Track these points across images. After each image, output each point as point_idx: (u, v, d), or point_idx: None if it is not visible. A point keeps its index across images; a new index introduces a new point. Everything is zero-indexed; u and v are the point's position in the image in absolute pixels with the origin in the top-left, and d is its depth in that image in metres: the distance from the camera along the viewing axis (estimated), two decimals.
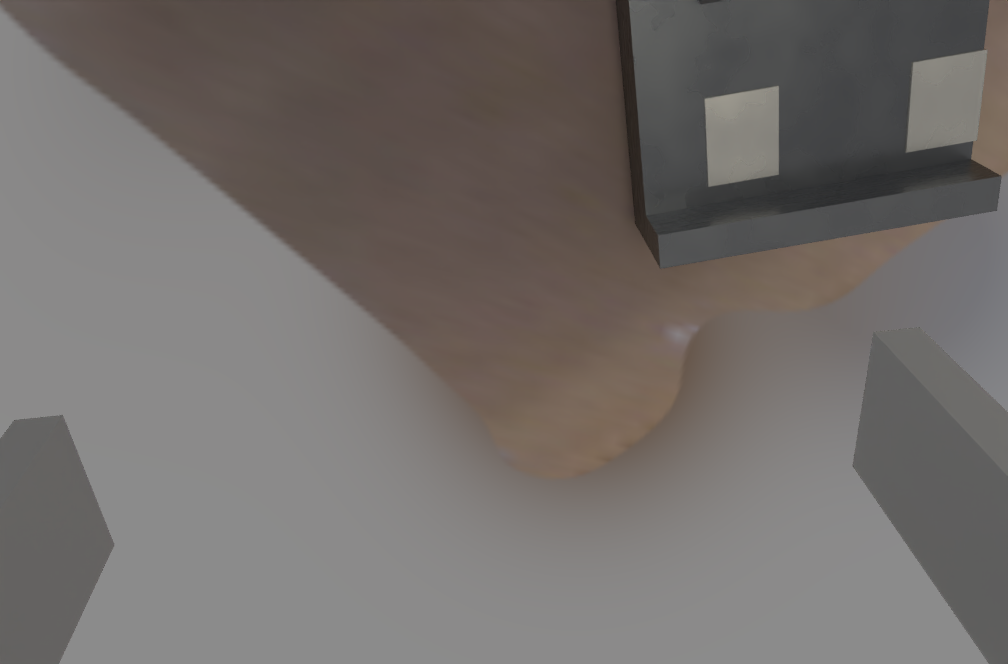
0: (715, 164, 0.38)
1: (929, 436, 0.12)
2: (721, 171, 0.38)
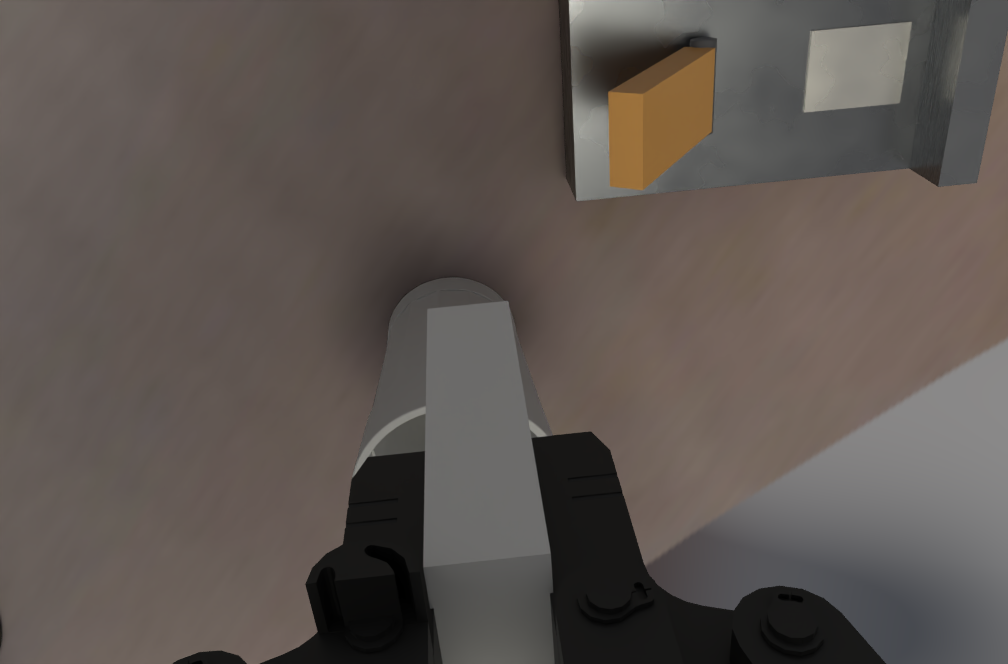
0: (877, 97, 0.35)
1: None
2: (886, 89, 0.35)
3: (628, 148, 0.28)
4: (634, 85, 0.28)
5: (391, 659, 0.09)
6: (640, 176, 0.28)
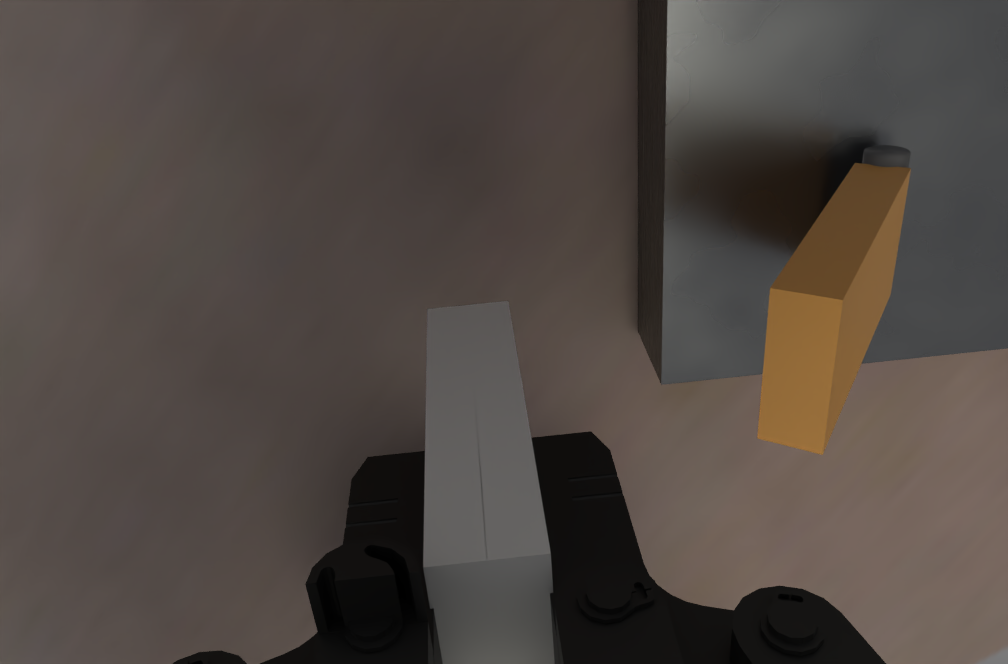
0: None
1: None
2: None
3: (801, 385, 0.15)
4: (813, 270, 0.15)
5: (391, 659, 0.09)
6: (820, 433, 0.16)
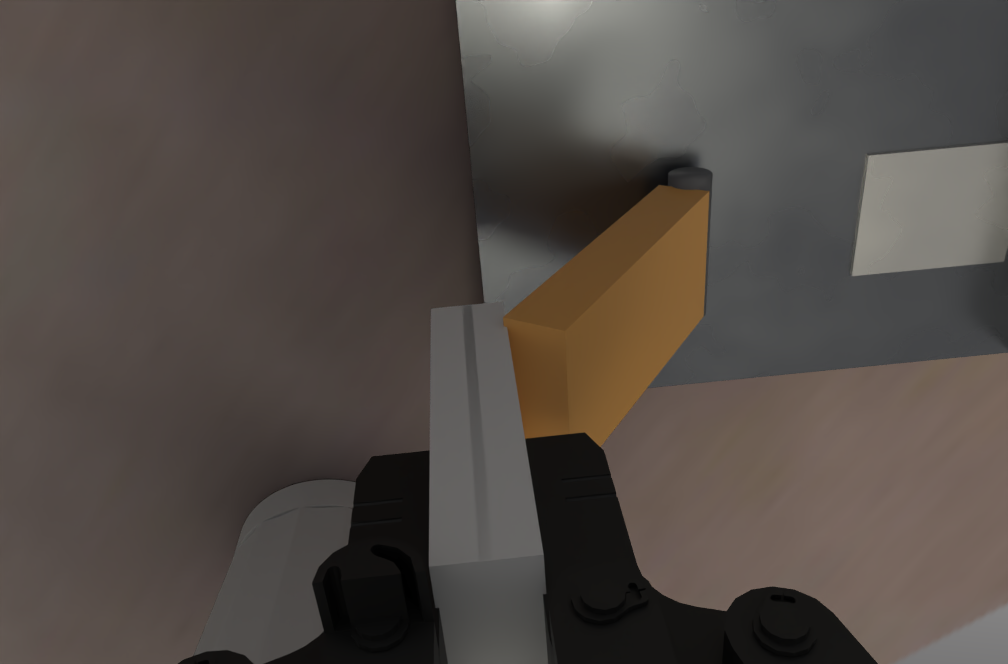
0: (969, 253, 0.22)
1: None
2: (984, 241, 0.22)
3: (544, 414, 0.15)
4: (555, 299, 0.15)
5: (397, 658, 0.09)
6: None
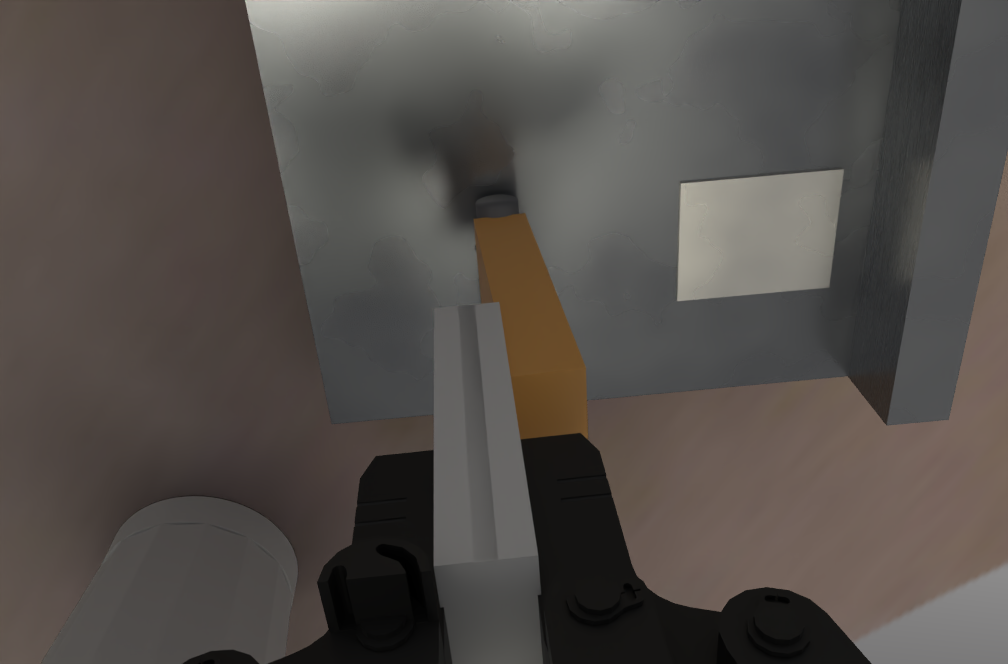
0: (792, 279, 0.22)
1: None
2: (807, 267, 0.22)
3: None
4: (533, 343, 0.14)
5: (402, 658, 0.09)
6: None
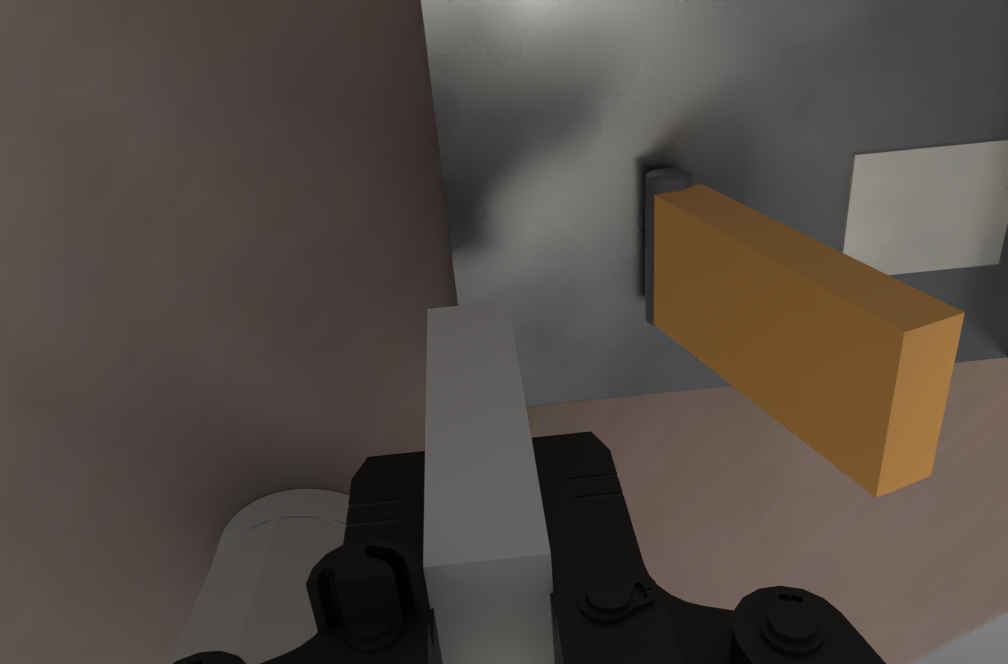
0: (961, 255, 0.21)
1: None
2: (978, 243, 0.21)
3: (920, 418, 0.14)
4: (883, 299, 0.14)
5: (391, 659, 0.09)
6: (931, 456, 0.14)
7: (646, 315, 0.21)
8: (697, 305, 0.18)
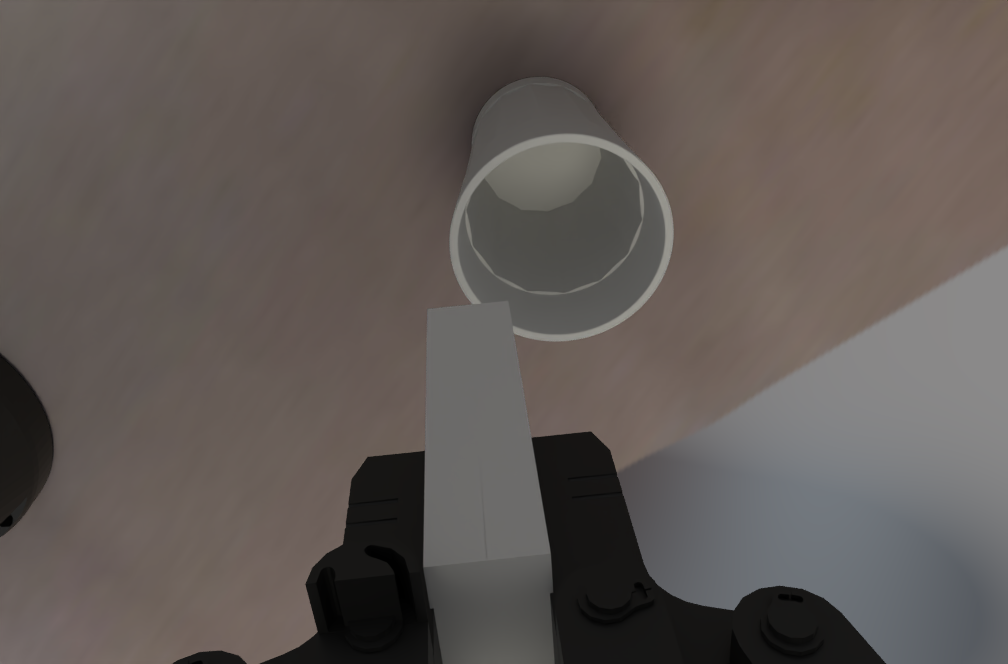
0: None
1: None
2: None
3: None
4: None
5: (391, 659, 0.09)
6: None
7: None
8: None
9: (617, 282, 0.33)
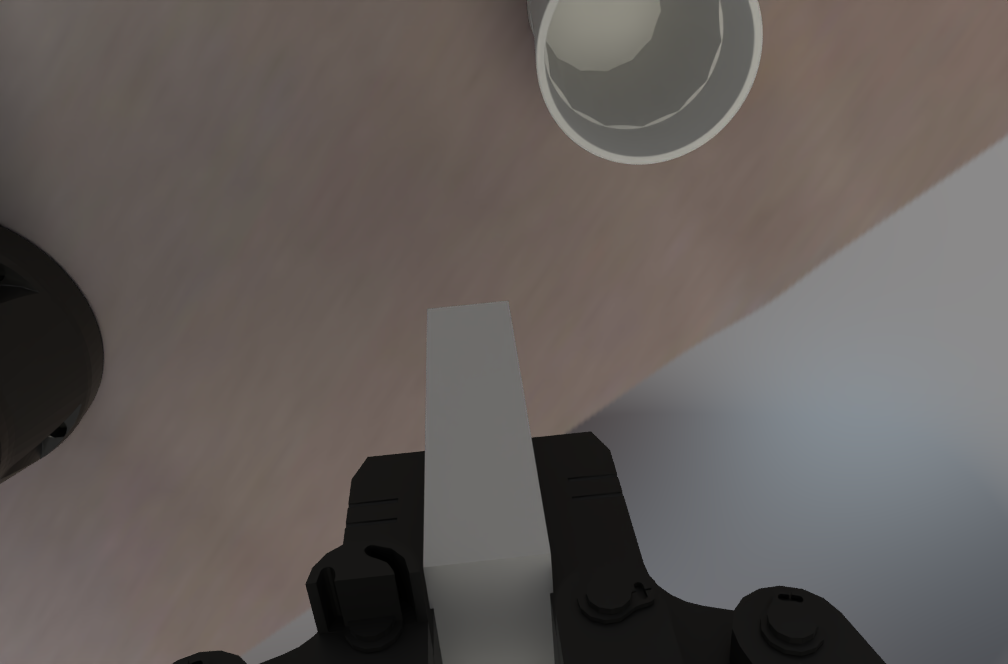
0: None
1: None
2: None
3: None
4: None
5: (391, 659, 0.09)
6: None
7: None
8: None
9: (698, 107, 0.33)
